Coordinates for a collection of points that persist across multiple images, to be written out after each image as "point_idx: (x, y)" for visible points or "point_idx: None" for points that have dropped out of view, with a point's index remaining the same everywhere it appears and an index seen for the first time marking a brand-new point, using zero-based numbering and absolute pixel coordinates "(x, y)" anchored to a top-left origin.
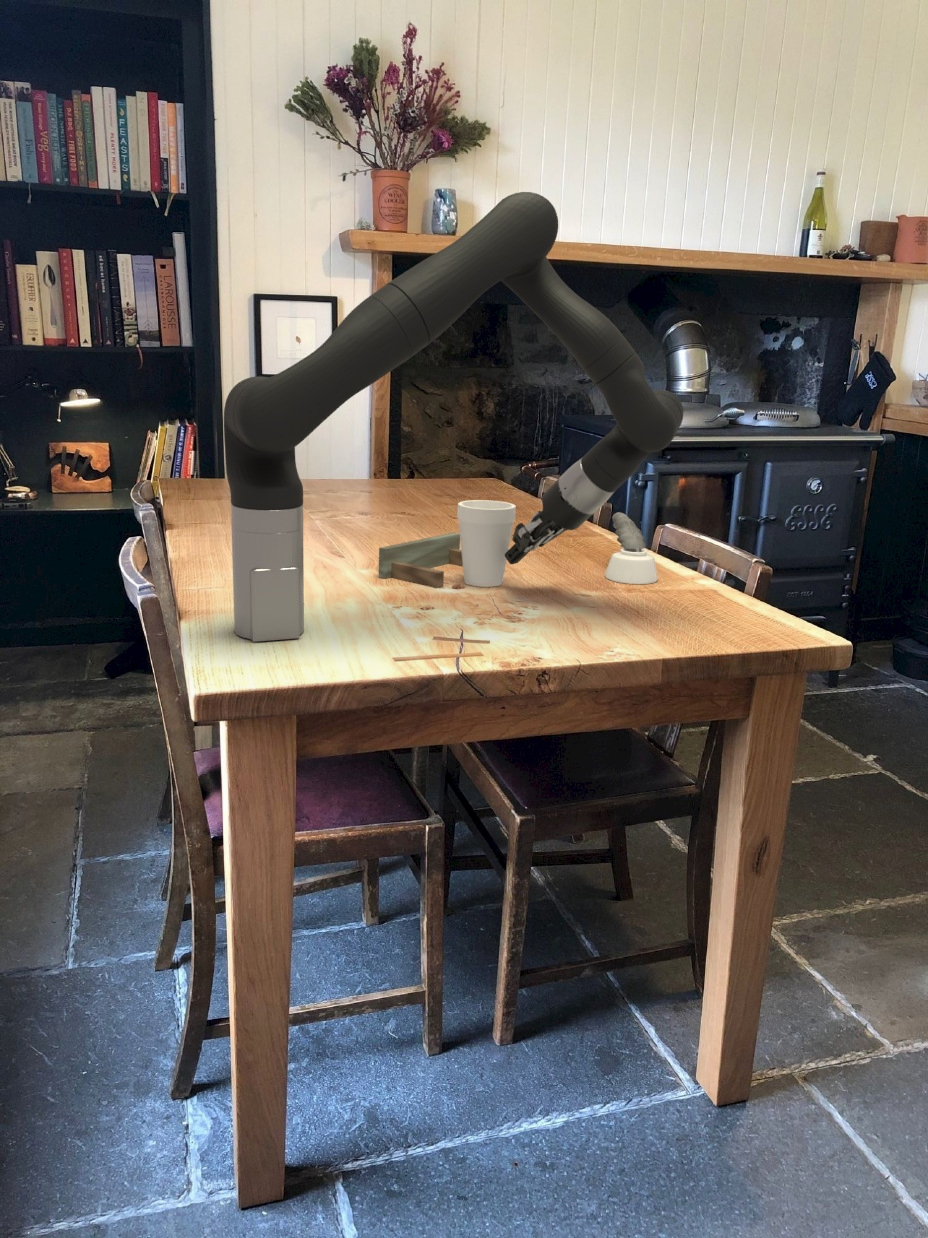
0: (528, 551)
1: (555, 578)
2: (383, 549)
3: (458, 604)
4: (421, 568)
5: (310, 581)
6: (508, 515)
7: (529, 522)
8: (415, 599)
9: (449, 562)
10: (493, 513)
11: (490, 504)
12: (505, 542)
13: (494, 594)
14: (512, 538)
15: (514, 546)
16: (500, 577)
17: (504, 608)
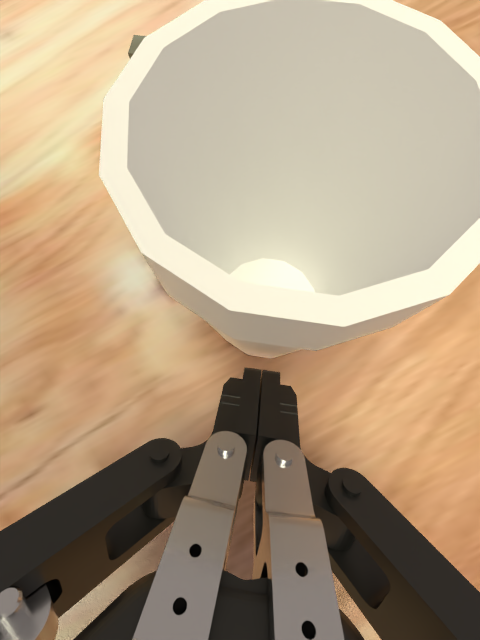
0: (255, 481)
1: (463, 454)
2: (130, 49)
3: (17, 368)
4: None
5: (48, 45)
6: (267, 330)
7: (149, 594)
8: (13, 263)
9: None
10: (149, 262)
11: (451, 99)
12: (270, 347)
13: (166, 394)
14: (137, 449)
15: (214, 425)
16: (265, 356)
17: (36, 495)
